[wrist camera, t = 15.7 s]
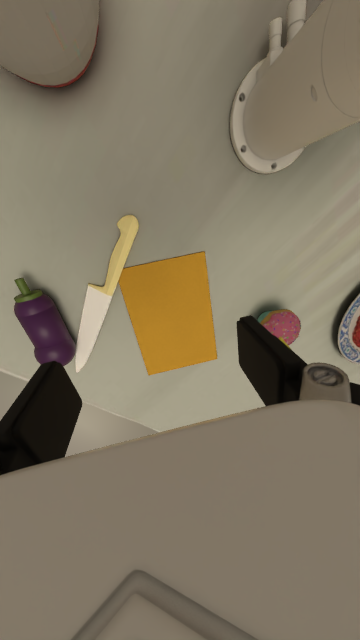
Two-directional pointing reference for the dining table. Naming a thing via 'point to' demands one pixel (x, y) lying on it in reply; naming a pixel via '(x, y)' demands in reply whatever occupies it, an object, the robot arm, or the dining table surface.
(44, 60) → the citrus juicer
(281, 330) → the cupcake
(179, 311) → the dish cloth
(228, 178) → the dining table surface
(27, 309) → the eggplant
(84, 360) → the knife
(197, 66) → the dining table surface
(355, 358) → the ceramic plate
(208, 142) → the dining table surface
